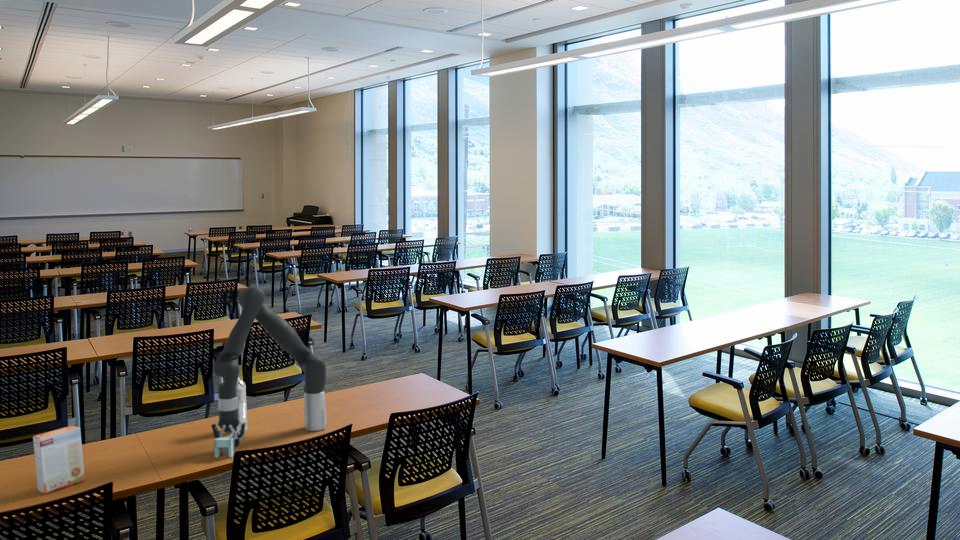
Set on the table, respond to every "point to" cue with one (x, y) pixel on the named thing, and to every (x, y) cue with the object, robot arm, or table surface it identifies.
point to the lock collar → (223, 445)
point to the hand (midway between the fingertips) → (229, 446)
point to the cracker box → (58, 458)
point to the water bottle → (241, 402)
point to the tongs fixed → (226, 450)
